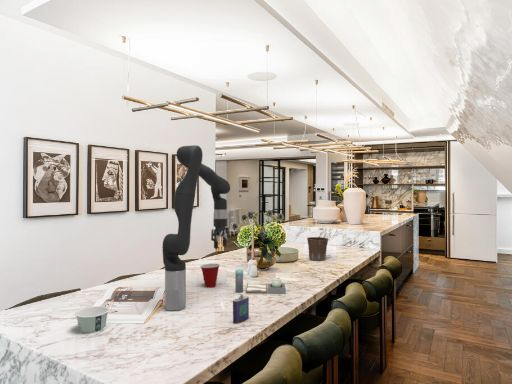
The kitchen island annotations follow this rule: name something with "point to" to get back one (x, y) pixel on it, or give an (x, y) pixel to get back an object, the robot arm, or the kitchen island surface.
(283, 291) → the button housing
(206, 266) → the plastic cup
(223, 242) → the robot arm
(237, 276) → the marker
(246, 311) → the flask
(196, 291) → the kitchen island surface
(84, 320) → the food container
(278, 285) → the button
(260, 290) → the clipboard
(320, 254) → the plant pot
